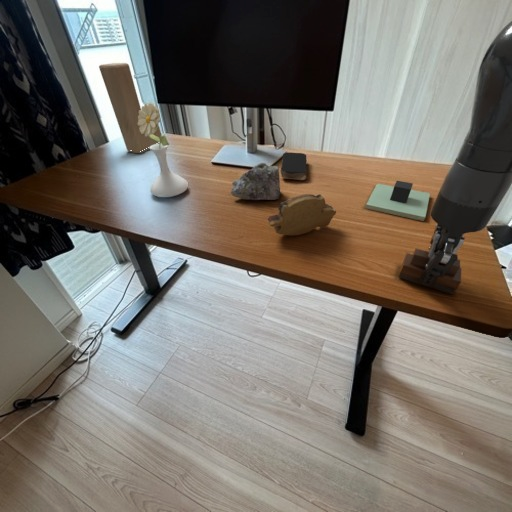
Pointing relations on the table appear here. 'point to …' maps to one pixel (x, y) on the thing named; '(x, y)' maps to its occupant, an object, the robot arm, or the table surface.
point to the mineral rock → (258, 183)
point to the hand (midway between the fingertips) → (426, 276)
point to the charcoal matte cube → (401, 191)
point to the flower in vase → (160, 154)
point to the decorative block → (126, 106)
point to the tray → (399, 203)
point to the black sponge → (294, 166)
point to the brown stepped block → (416, 266)
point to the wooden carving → (302, 215)
